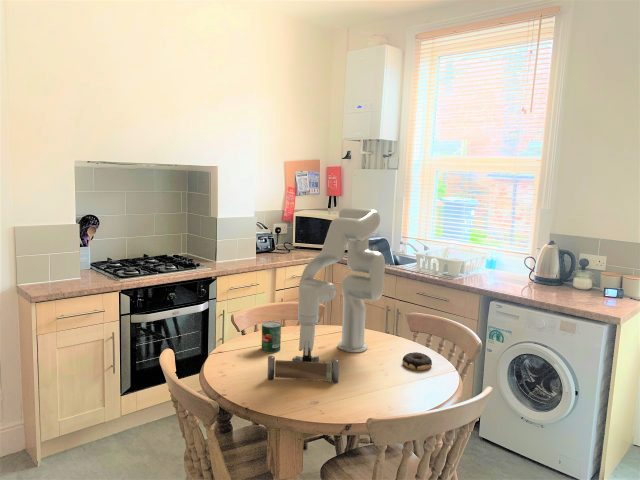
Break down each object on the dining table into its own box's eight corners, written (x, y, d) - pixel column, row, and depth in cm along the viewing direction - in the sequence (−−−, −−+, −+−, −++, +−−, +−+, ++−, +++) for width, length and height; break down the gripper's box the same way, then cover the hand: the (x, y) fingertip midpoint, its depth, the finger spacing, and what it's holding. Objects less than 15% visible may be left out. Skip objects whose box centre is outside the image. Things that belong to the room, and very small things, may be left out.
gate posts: (268, 377, 185) (268, 355, 183) (338, 380, 184) (339, 359, 182) (267, 379, 182) (267, 358, 181) (338, 383, 181) (339, 361, 180)
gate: (275, 376, 184) (275, 358, 183) (330, 379, 183) (331, 361, 182) (274, 378, 182) (275, 360, 181) (330, 381, 182) (331, 363, 181)
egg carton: (290, 371, 191) (290, 361, 190) (292, 363, 198) (292, 353, 198) (319, 372, 191) (319, 362, 190) (319, 364, 198) (320, 354, 198)
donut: (397, 366, 199) (398, 356, 199) (411, 358, 209) (412, 348, 208) (423, 374, 193) (424, 364, 192) (436, 365, 202) (437, 355, 202)
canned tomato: (257, 351, 210) (258, 325, 208) (267, 345, 217) (267, 320, 216) (275, 354, 207) (275, 328, 205) (283, 348, 214) (284, 322, 213)
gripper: (299, 312, 192) (298, 358, 195) (296, 323, 177) (294, 374, 180) (319, 312, 192) (317, 359, 194) (317, 325, 177) (315, 375, 180)
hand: (306, 366), depth 187 cm, fingers closed
